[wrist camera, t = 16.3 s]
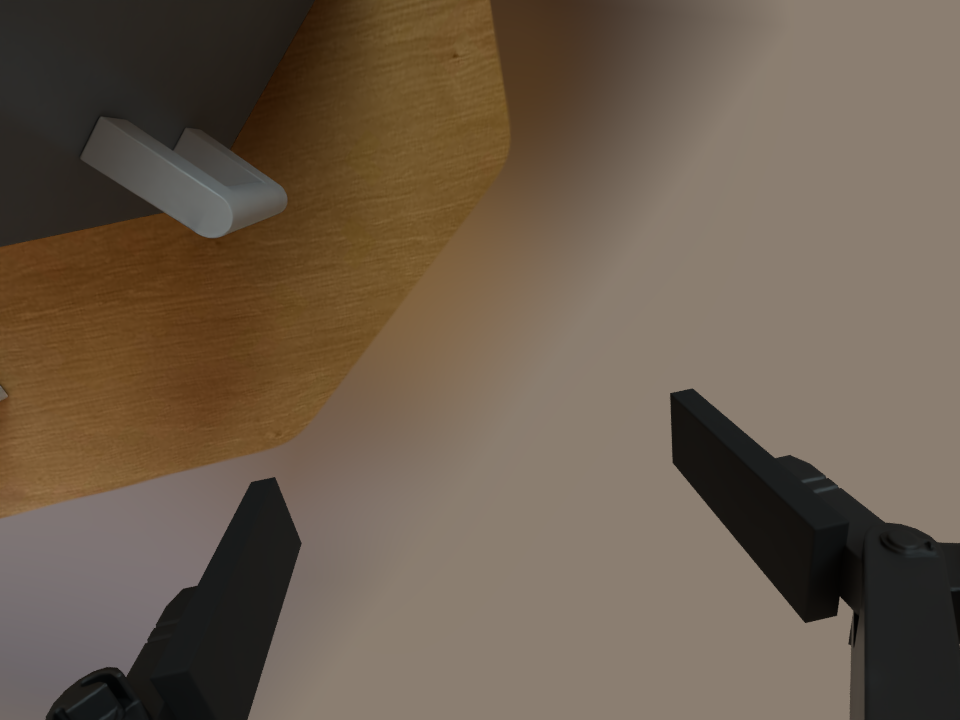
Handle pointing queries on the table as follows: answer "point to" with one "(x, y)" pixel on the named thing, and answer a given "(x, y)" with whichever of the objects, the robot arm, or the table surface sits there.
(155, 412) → the table surface
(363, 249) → the table surface
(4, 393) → the ink cartridge box
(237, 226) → the cupboard door
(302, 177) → the table surface
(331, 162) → the table surface
